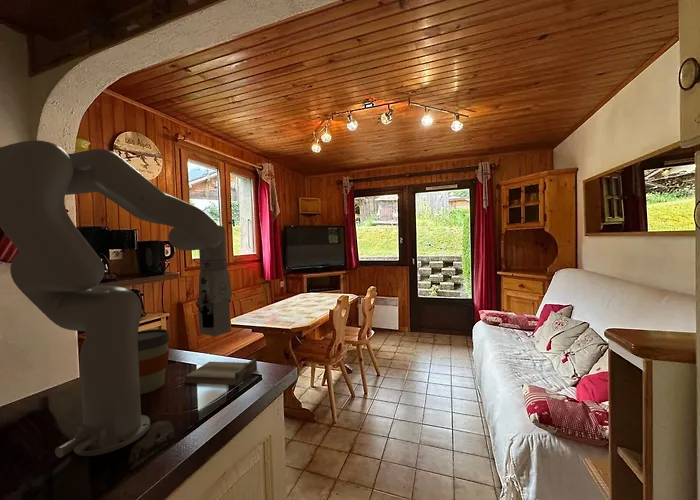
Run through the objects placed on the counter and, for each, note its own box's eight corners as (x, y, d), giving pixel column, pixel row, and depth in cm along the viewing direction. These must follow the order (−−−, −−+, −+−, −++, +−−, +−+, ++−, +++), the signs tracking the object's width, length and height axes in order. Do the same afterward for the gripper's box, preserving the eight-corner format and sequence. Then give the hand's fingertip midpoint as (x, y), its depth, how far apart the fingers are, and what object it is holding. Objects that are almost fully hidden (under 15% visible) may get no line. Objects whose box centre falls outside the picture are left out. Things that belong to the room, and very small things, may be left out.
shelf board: (238, 385, 85) (238, 373, 84) (185, 382, 88) (185, 370, 88) (257, 369, 95) (257, 358, 95) (209, 367, 98) (209, 357, 98)
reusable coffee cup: (129, 381, 90) (127, 331, 90) (176, 374, 94) (174, 327, 94) (109, 401, 78) (106, 344, 78) (163, 393, 82) (161, 338, 81)
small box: (231, 332, 92) (229, 298, 92) (214, 337, 88) (213, 301, 87) (215, 329, 97) (213, 296, 96) (198, 333, 92) (197, 299, 92)
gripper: (206, 268, 82) (209, 332, 82) (240, 263, 99) (242, 317, 100) (182, 268, 83) (185, 332, 84) (219, 264, 101) (222, 316, 101)
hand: (216, 323), depth 92 cm, fingers closed on small box, 7 cm apart
